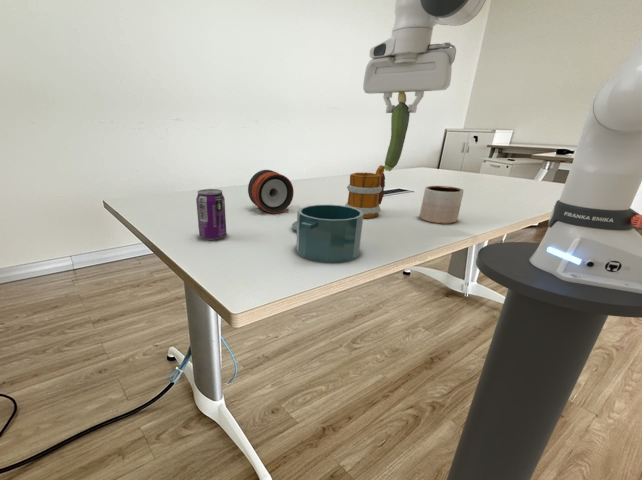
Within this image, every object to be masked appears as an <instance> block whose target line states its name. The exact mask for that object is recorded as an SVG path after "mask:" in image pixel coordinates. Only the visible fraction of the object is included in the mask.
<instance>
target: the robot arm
mask: <svg viewBox="0 0 642 480" xmlns="http://www.w3.org/2000/svg"><path fill="white" fill-rule="evenodd" d="M486 1H487V0H395V3H394V24H393V26H392V30H391V36H390V37H389V38H388V39H386V40H383V41H382V42H380V43H378V44H376V45H374V46H372V47H371V48H369V57H370V58H371V59H370V60H369V61H368V62H367V64H366V67H365V72H364V77H363V83H362V85H363V87H362V88H363V91H364V94H368V95H370V94H371V95H374V94H375V95H376V94H383V95H382V97H383V100H384V103H385V105H386V108H385V113H386V114H392V111H393V109H394V107H395V106H396V105H395V104H392V101H391V99H392V98H393V94H394V93H395V94H396V93H399V92H398V91H400V92H401V91H405V93H414V97H415V99H414V101H413V102H412V104H408V105H407V106H408V108H409V109H408V113H410V114H415V113H417V109H418V105H419V104H420V102H421V101H422V99H423V98H424V95H425V92H438V91H439V92H440V91H446V90H448V88H449V87H450V86H451V81H452V80H451V79H452V70H453V63H454V62H455V59H456V54H457V48H456V46H455V45H454V44H452V43H451V42H443V43H432V44H431V42H432V37H433V30H434V26H436V25H440V26H441V25H442V26H449V27H457V26H463V25H465V24H467V23H469V22H470V21H472V20H473V19H475V18H476V16H478V15H479V13H480V11H481V10H482V8H483V7H484V5H485V3H486ZM641 184H642V38H641V39H640V40H639V41H638V43H636V45H635V46H634V48H633V49H632V50H631V52H630V53H629V54H628V56H627V57H626V58H625V59H624V61H623V62H622V64H621V65H620V66H619V67H618V68H617V70H616V71H615V72H614V73H613V74H612V76H611V77H609V79H607V80H606V81H605V82H603V83H602V84H601V85H600V86H599V88H598V89H597V90H596V91H595V93H594V94H593V97H592V99H591V102H590V105H589V108H588V111H587V114H586V117H585V120H584V123H583V126H582V129H581V133H580V136H579V139H578V142H577V146H576V149H575V153H574V156H573V160H572V163H571V166H570V169H569V172H568V175H567V176H566V180H565V183H564V186H563V188H562V192H561V193H560V197H559V199H558V200H556V202H555V204H554V205H553V208H552V211H551V214H550V216H549V218H548V224H547V225H548V227H547V230H546V231H545V234H544V236H543V237H542V240H541V241H540V242H539V243H540V245H539V247H538V248H537V250H536V251H535V253H534V254H533V255H532V257H531V258H530V259H529V261H530V263H531V264H532V265H534V266H535V267H537V268H539V269H541V270H544V271H546V272H548V273H551V274H553V275H555V276H556V277H558V278H559V279H561V280H564V281H568V282H573V283H580V284H586V285H592V286H598V287H604V288H610V289H616V290H622V291H629V292H635V293H641V294H642V234H640V233H639V232H638V231H637V230H636V229H635V228H642V214H641V213H639V212H638V211H636V210H634V209H632V208H631V207H632V205H633V202H634V200H635V197H636V196H637V194H638V191H639V188H640V187H641Z"/></svg>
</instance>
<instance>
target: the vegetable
mask: <svg viewBox="0 0 642 480" xmlns="http://www.w3.org/2000/svg"><path fill="white" fill-rule="evenodd" d="M397 93H398V95H397V101H398V104H396V105H395V107H394V109H393V111H392V113H391V118H390V120H391V121H390V140H389V145H388V148H387V151H386V156H385V159H384V160H385V161H384V165H383V166H384V170H385V172H387V171H388V172H391V171H392V170H393V169H394V168H395V167H396V166H397V165H398V163H399V160H400V159H401V156H402V152H403V148H404V144H405V140H406V135H407V132H408V128H409V123H410V116H411V115H410V114H411V113H408V109H409V108H408V106H409V105H407V104H406V102H407V95H406V92H405V91H401V92H400V91H398V92H397Z"/></svg>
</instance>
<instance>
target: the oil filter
mask: <svg viewBox="0 0 642 480" xmlns="http://www.w3.org/2000/svg"><path fill="white" fill-rule="evenodd" d="M247 194H248V196H249V199H250V201H251V202H252V203H253V204H254V205H255V206H256V207H257V208H260V209H261V210H264V211H265V212H267V213H269V214H279V213H282V212H284V211H286V210H287V208H288V207H289V206H290V205H291V204H292V202H293V199H294V185H293V183H292V181H291V180H290V179H289V177H287V176H285V175H284V174H281V173H279V172H277V171H274V170H270V169H261V170H259V171H257V172H256V173H254V174H253V176H252V177H251V178H250V179H249V182H248V185H247Z"/></svg>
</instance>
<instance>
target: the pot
mask: <svg viewBox="0 0 642 480" xmlns="http://www.w3.org/2000/svg"><path fill="white" fill-rule="evenodd" d="M296 215H297V216H296V221H297V231H296V242H295V243H296V246H295V249H296V253H297V254H298V255H299V256H300V257H302V258H304V259H306V260H310V261H313V262H318V263H326V264H327V263H328V264H331V263H332V264H335V263H336V264H337V263H346V262H349V261H354V260H355V259H357V258H358V257H359V255H360V249H361V241H362V234H363V233H362V232H363V231H362V230H363V224H364V223H363V222H364V218H363V216H364V213H363V212H362V211H361V210H359V209H356V208H353V207H348V206H345V205H341V204H311V205H306V206H303V207H300V208H299V209H298V210H297V214H296Z"/></svg>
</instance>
